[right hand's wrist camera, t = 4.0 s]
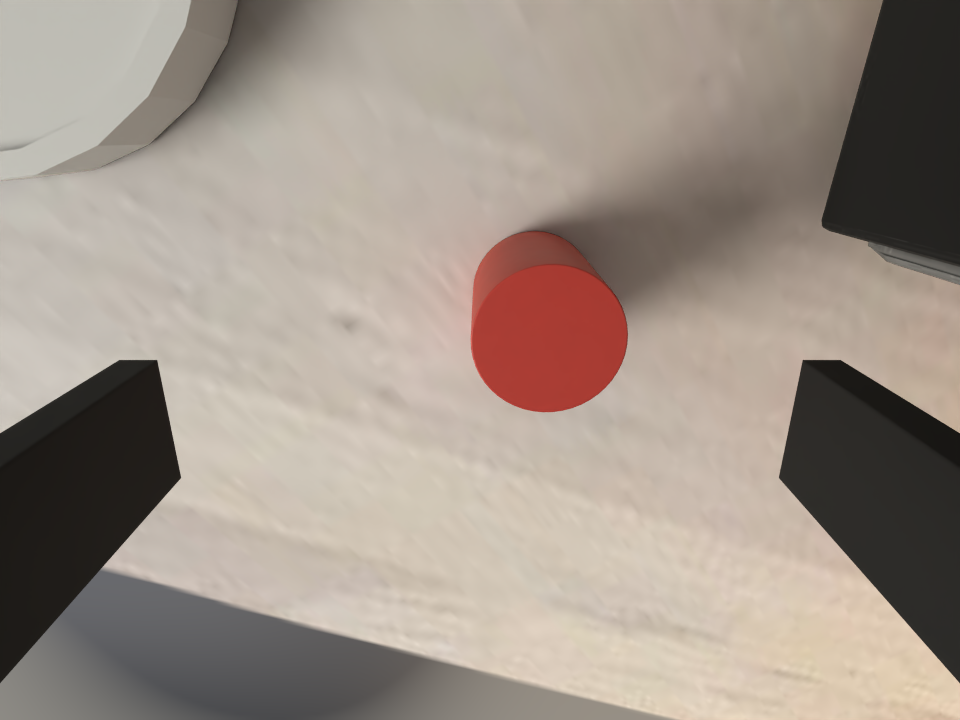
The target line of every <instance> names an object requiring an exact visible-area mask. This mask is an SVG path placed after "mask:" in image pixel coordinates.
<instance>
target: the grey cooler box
mask: <svg viewBox="0 0 960 720" xmlns="http://www.w3.org/2000/svg"><path fill="white" fill-rule="evenodd" d="M822 226H823V228H825V229H827V230H829V231H832V232H835V233H839V234H843V235H846V236H850V237H854V238H857V239H861V240H864V241H868V242H869V243H868V246H869V247H871V248H872V249H873V250H874V251H876V252H877V253H878V254H879V255H880V256H881V257H882V258H884V259H885V260H886V261H887V262H890V263H892V264H895V265H898V266H901V267H905V268H908V269H911V270H914V271H917V272H921V273H924V274H927V275H930V276H933V277H936V278H940V279H943V280H946V281H949V282H952V283H955V284H959V285H960V0H883V3H882V7H881V10H880V14H879V17H878V21H877V25H876V28H875V32H874V35H873V39H872V42H871V46H870V50H869V53H868V57H867V60H866V64H865V67H864V71H863V75H862V78H861V82H860V85H859V89H858V92H857V96H856V99H855V103H854V107H853V110H852V114H851V117H850V121H849V124H848V128H847V132H846V135H845V139H844V142H843V146H842V149H841V153H840V157H839V160H838V164H837V167H836V171H835V174H834V178H833V182H832V185H831V189H830V192H829V196H828V199H827V203H826V207H825V210H824V214H823V217H822Z"/></svg>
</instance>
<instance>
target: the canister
mask: <svg viewBox="0 0 960 720" xmlns="http://www.w3.org/2000/svg"><path fill="white" fill-rule="evenodd" d="M627 339H628V330H627V322H626V318H625V314H624V311H623V309H622V306H621V304H620V302H619V300H618V299H617V297H616V296H615V294H614V293H613V292H612V290H611V289H610V288H609V287H608V285H607V284H606V283H605V282H604V281H603V279H602V278H601V277H600V276H599V275H598V273H597V272H596V271H595V270H594V269H593V267H592V266H591V265H590V264H589V263H588V262H587V260H586V259H585V258H584V257H583V256H582V254H581V253H580V252H579V251H578V250H577V249H576V248H575V247H574V246H573V245H572V244H571V243H569V242H568V241H566V240H565V239H563V238H561V237H559V236H556V235H554V234H551V233H547V232H539V231H529V232H523V233H519V234H515V235H512V236H510V237H508V238H506V239H504V240H502V241H501V242H499V243H498V244H497V245H495V246H494V247H493V248H492V249H491V250H490V251H489V252H488V253H487V254H486V256H485V257H484V258H483V260H482V262H481V263H480V265H479V267H478V270H477V272H476V276H475V280H474V287H473V305H472V325H471V350H472V356H473V360H474V363H475V366H476V368H477V370H478V372H479V374H480V376H481V378H482V379H483V381H484V382H485V384H486V385H487V386H488V387H489V388H490V389H491V390H492V391H493V392H494V393H495V394H496V395H497V396H499V397H500V398H502V399H503V400H505V401H506V402H508V403H510V404H512V405H514V406H517V407H519V408H522V409H526V410H530V411H537V412H556V411H563V410H567V409H570V408H574V407H576V406H579V405H581V404H583V403H585V402H587V401H589V400H590V399H592V398H593V397H595V396H596V395H598V394H599V393H600V392H601V391H602V390H603V389H604V388H606V386H607V385H608V384H609V383H610V382H611V381H612V379H613V378H614V376H615V375H616V373H617V372H618V370H619V368H620V366H621V364H622V362H623V359H624V356H625V352H626V348H627Z"/></svg>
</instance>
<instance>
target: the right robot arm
mask: <svg viewBox="0 0 960 720" xmlns="http://www.w3.org/2000/svg"><path fill="white" fill-rule="evenodd" d="M180 478H181V475H180V470H179V465H178V460H177V455H176V451H175V446H174V441H173V436H172V431H171V426H170V421H169V416H168V411H167V406H166V401H165V397H164V392H163V387H162V382H161V377H160V372H159V367H158V362H157V360H119V361H117V362H116V363H114V364H112V365H111V366H109V367H107V368H106V369H104V370H103V371H101V372H99V373H98V374H96V375H94V376H93V377H91V378H90V379H88V380H86V381H85V382H83V383H81V384H80V385H78V386H77V387H75V388H73V389H72V390H70V391H68V392H67V393H65V394H64V395H62V396H60V397H59V398H57V399H55V400H54V401H52V402H51V403H49V404H47V405H46V406H44V407H42V408H41V409H39V410H37V411H36V412H34V413H33V414H31V415H29V416H28V417H26V418H24V419H23V420H21V421H20V422H18V423H16V424H15V425H13V426H11V427H10V428H8V429H7V430H5V431H3V432H2V433H0V683H1V681H2V680H3V679H4V678H5V677H6V676H7V675H8V674H9V672H10V671H11V670H12V669H13V668H14V667H15V666H16V664H17V663H18V662H19V661H20V660H21V659H22V658H23V657H24V655H25V654H26V653H27V652H28V651H29V650H30V649H31V647H32V646H33V645H34V644H35V643H36V642H37V641H38V639H39V638H40V637H41V636H42V635H43V634H44V633H45V632H46V630H47V629H48V628H49V627H50V626H51V625H52V624H53V622H54V621H55V620H56V619H57V618H58V617H59V616H60V615H61V613H62V612H63V611H64V610H65V609H66V608H67V607H68V605H69V604H70V603H71V602H72V601H73V600H74V599H75V598H76V596H77V595H78V594H79V593H80V592H81V591H82V589H83V588H84V587H85V586H86V585H87V584H88V583H89V582H90V581H91V579H92V578H93V577H94V576H95V575H96V574H97V573H98V571H99V570H100V569H101V568H102V567H103V566H104V565H105V564H106V562H107V561H108V560H109V559H110V558H111V557H112V556H113V554H114V553H115V552H116V551H117V550H118V549H119V548H120V547H121V545H122V544H123V543H124V542H125V541H126V540H127V539H128V537H129V536H130V535H131V534H132V533H133V532H134V531H135V529H136V528H137V527H138V526H139V525H140V524H141V523H142V522H143V520H144V519H145V518H146V517H147V516H148V515H149V514H150V512H151V511H152V510H153V509H154V508H155V507H156V506H157V505H158V503H159V502H160V501H161V500H162V499H163V498H164V497H165V495H166V494H167V493H168V492H169V491H170V490H171V489H172V488H173V486H174V485H175V484H176V483H177V482H178V481H179V480H180ZM779 478H780V480H781V481H782V482H783V483H784V484H785V485H786V486H787V488H788V489H789V490H790V491H791V492H792V493H793V494H794V495H795V497H796V498H797V499H798V500H799V501H800V502H801V503H802V505H803V506H804V507H805V508H806V509H807V510H808V511H809V512H810V514H811V515H812V516H813V517H814V518H815V519H816V520H817V522H818V523H819V524H820V525H821V526H822V527H823V528H824V529H825V531H826V532H827V533H828V534H829V535H830V536H831V537H832V539H833V540H834V541H835V542H836V543H837V544H838V545H839V547H840V548H841V549H842V550H843V551H844V552H845V553H846V554H847V556H848V557H849V558H850V559H851V560H852V561H853V562H854V564H855V565H856V566H857V567H858V568H859V569H860V570H861V571H862V573H863V574H864V575H865V576H866V577H867V578H868V579H869V581H870V582H871V583H872V584H873V585H874V586H875V587H876V588H877V590H878V591H879V592H880V593H881V594H882V595H883V596H884V598H885V599H886V600H887V601H888V602H889V603H890V604H891V605H892V607H893V608H894V609H895V610H896V611H897V612H898V613H899V615H900V616H901V617H902V618H903V619H904V620H905V621H906V623H907V624H908V625H909V626H910V627H911V628H912V629H913V630H914V632H915V633H916V634H917V635H918V636H919V637H920V638H921V640H922V641H923V642H924V643H925V644H926V645H927V646H928V647H929V649H930V650H931V651H932V652H933V653H934V654H935V655H936V657H937V658H938V659H939V660H940V661H941V662H942V663H943V664H944V666H945V667H946V668H947V669H948V670H949V671H950V672H951V674H952V675H953V676H954V677H955V678H956V679H957V680H958V682H959V683H960V433H958V432H957V431H955V430H953V429H952V428H950V427H949V426H947V425H945V424H944V423H942V422H940V421H939V420H937V419H936V418H934V417H932V416H931V415H929V414H927V413H926V412H924V411H923V410H921V409H919V408H918V407H916V406H914V405H913V404H911V403H909V402H908V401H906V400H905V399H903V398H901V397H900V396H898V395H896V394H895V393H893V392H892V391H890V390H888V389H887V388H885V387H883V386H882V385H880V384H879V383H877V382H875V381H874V380H872V379H870V378H869V377H867V376H866V375H864V374H862V373H861V372H859V371H857V370H856V369H854V368H853V367H851V366H849V365H848V364H846V363H844V362H843V361H841V360H803V362H802V367H801V372H800V377H799V382H798V387H797V392H796V397H795V401H794V406H793V411H792V416H791V421H790V426H789V431H788V436H787V441H786V446H785V451H784V455H783V460H782V465H781V470H780V475H779Z"/></svg>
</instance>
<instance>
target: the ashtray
mask: <svg viewBox="0 0 960 720" xmlns="http://www.w3.org/2000/svg"><path fill="white" fill-rule="evenodd" d="M237 3H238V0H0V181H8V180H18V179H28V178H37V177H44V176H52V175H60V174H67V173H75V172H82V171H90V170H95V169H97V168H100V167H102V166H104V165H106V164H108V163H110V162H112V161H115V160H117V159H119V158H121V157H123V156H125V155H127V154H130V153H132V152H134V151H136V150H138V149H140V148H142V147H145V146H147V145H149V144H150V143H151V142H152V141H153V140H154V139H155V138H157V137H158V136H159V135H160V134H161V133H162V132H163V131H164V130H165V129H166V128H167V127H168V126H169V125H170V124H171V123H172V122H174V121H175V120H176V119H177V118H178V117H179V116H180V115H181V114H182V113H183V112H184V111H185V110H186V109H187V108H188V107H189V106H191V105H192V104H193V103H194V102H195V100H196V98H197V97H198V95H199V93H200V91H201V90H202V88H203V86H204V84H205V82H206V81H207V79H208V77H209V75H210V73H211V72H212V70H213V68H214V66H215V65H216V63H217V61H218V59H219V57H220V56H221V54H222V52H223V50H224V49H225V47H226V45H227V43H228V40H229V36H230V32H231V28H232V24H233V20H234V16H235V12H236V7H237Z"/></svg>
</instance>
